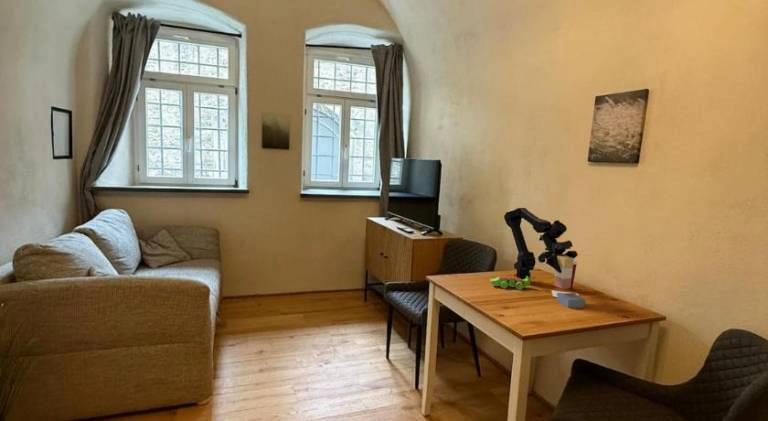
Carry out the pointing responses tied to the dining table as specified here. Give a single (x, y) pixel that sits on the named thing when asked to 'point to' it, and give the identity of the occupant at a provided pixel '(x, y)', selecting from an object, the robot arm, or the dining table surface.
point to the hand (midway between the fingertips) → (565, 272)
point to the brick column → (564, 272)
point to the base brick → (571, 300)
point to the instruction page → (555, 293)
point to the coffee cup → (572, 275)
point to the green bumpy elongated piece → (511, 282)
